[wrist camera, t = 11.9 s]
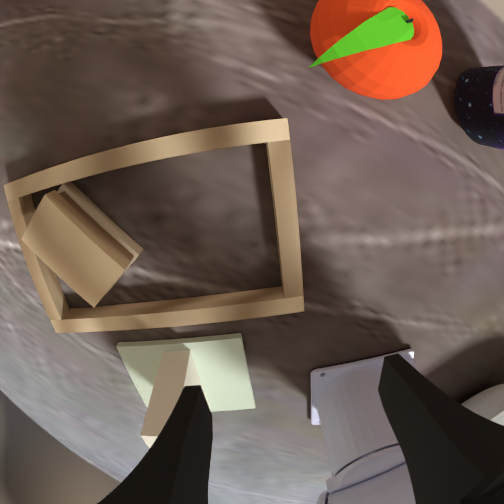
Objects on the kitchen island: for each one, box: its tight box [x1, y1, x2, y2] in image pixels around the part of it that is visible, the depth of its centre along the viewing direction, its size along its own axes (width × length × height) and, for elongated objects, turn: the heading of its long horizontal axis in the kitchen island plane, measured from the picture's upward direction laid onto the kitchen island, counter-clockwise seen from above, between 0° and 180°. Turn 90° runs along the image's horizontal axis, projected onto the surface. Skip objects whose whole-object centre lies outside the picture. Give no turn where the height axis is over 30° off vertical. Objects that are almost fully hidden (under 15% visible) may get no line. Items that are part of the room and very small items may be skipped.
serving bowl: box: [461, 384, 504, 426], centre depth 28 cm, size 21×21×7 cm
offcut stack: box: [21, 181, 143, 307], centre depth 18 cm, size 4×7×4 cm, turn 44°
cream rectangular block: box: [141, 350, 210, 448], centre depth 20 cm, size 2×7×8 cm, turn 7°
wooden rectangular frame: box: [4, 118, 304, 333], centre depth 19 cm, size 19×12×2 cm, turn 97°
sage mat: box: [116, 333, 255, 412], centre depth 24 cm, size 10×8×1 cm
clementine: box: [309, 0, 442, 99], centre depth 12 cm, size 8×7×7 cm
